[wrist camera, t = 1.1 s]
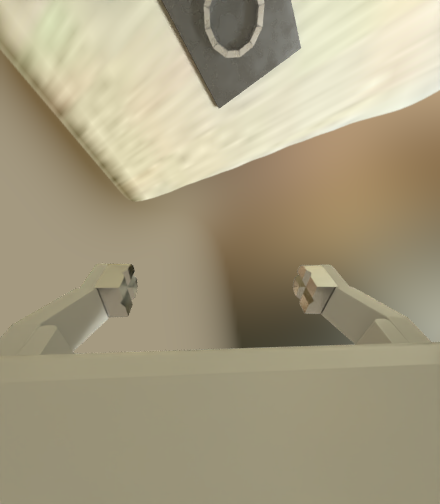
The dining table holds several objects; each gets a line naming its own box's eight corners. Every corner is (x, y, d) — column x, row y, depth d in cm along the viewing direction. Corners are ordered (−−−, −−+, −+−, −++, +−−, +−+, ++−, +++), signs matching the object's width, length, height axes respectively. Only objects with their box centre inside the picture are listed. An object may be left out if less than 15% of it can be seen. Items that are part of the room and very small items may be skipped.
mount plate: (150, -23, 28) (146, -24, 26) (256, -151, 22) (261, -165, 20) (218, 106, 41) (219, 112, 39) (299, 47, 34) (304, 50, 32)
